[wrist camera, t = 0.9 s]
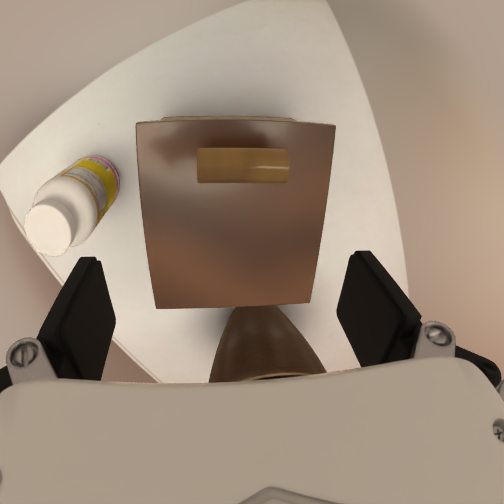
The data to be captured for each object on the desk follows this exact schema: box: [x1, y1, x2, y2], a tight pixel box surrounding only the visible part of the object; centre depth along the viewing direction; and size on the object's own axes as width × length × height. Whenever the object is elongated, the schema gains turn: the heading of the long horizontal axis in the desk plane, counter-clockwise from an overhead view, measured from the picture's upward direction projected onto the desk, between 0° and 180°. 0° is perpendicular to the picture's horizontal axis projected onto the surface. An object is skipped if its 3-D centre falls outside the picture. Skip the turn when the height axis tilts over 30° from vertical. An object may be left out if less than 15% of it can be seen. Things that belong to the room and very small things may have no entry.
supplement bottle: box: [24, 156, 119, 256], centre depth 26 cm, size 7×7×13 cm
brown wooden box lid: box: [136, 118, 336, 309], centre depth 21 cm, size 15×14×5 cm
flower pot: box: [209, 305, 327, 383], centre depth 38 cm, size 15×15×16 cm
